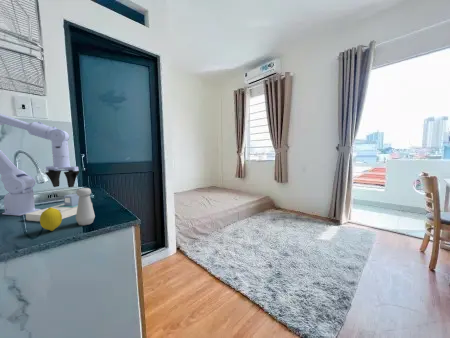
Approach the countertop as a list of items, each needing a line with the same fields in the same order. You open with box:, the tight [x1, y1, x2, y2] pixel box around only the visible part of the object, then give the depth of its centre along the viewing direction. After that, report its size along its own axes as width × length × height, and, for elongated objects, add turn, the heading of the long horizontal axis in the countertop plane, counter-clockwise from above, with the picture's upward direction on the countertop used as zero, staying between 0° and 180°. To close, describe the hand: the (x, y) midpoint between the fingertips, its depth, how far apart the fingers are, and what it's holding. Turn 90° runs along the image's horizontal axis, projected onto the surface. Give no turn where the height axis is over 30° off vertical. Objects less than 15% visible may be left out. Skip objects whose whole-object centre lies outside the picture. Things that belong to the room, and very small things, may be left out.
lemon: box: [39, 206, 63, 232], centre depth 66 cm, size 6×6×8 cm
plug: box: [63, 193, 79, 207], centre depth 88 cm, size 4×4×7 cm
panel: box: [25, 203, 94, 222], centre depth 83 cm, size 12×18×3 cm, turn 169°
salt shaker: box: [75, 187, 96, 226], centre depth 72 cm, size 6×6×13 cm
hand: (63, 186), depth 90 cm, fingers open, 7 cm apart
